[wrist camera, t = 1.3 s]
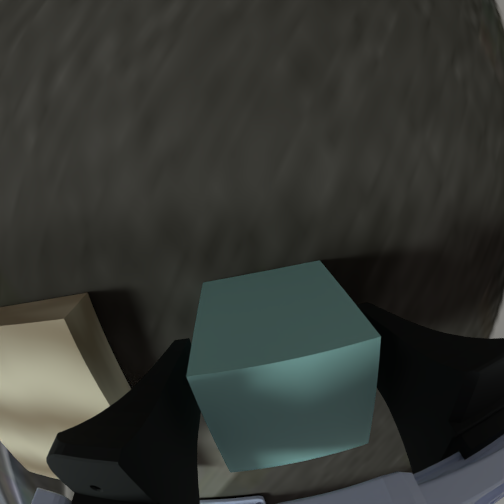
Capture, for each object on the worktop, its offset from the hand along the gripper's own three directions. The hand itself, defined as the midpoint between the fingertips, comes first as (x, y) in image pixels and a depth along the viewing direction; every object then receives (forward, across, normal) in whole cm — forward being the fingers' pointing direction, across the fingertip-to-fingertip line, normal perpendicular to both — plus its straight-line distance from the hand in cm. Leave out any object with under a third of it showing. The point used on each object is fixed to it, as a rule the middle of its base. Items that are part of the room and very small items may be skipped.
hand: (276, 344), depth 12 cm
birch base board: (+2, +15, +4) cm, 16 cm away
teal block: (+2, 0, 0) cm, 2 cm away
